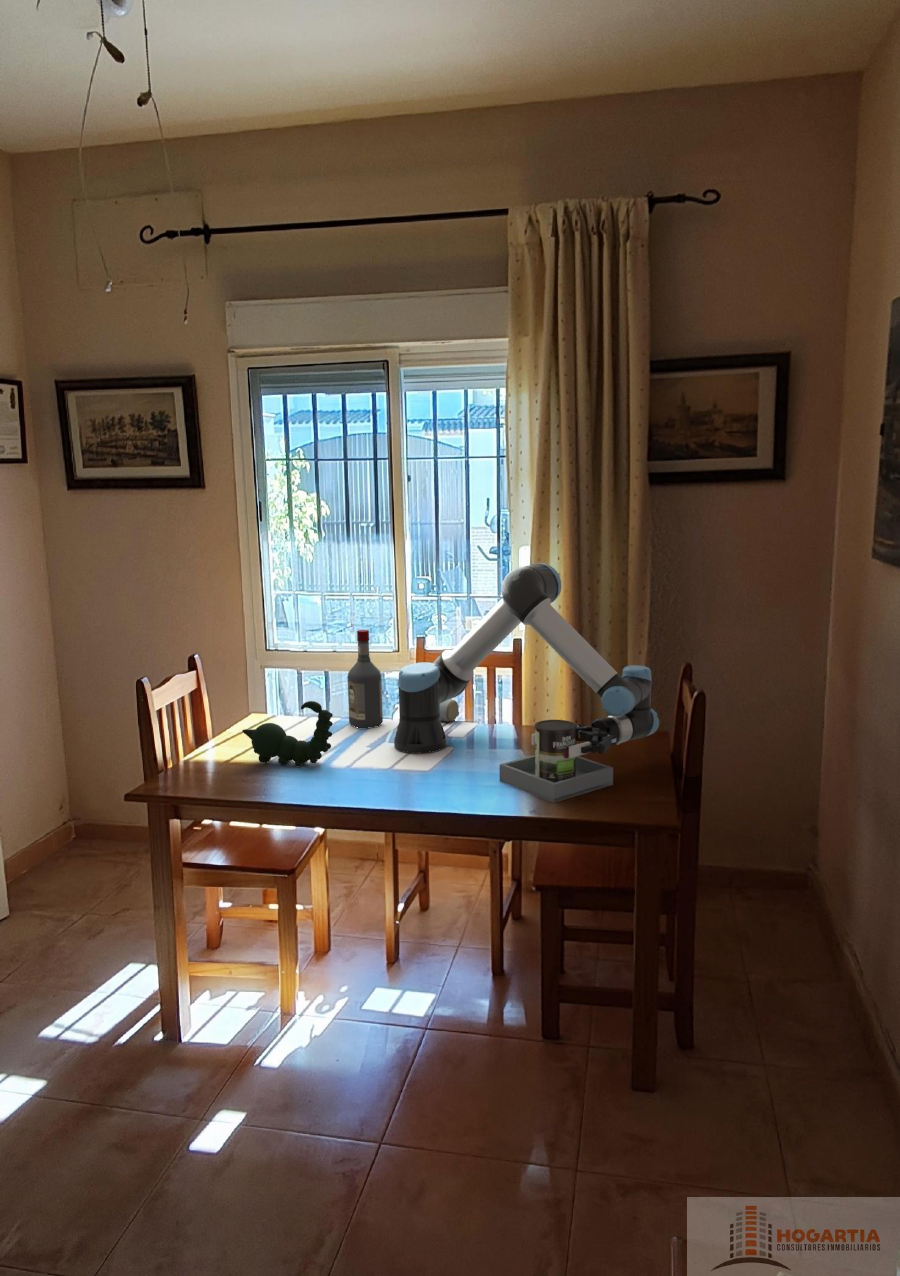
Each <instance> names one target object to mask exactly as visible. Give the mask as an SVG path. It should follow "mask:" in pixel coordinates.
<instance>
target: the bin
mask: <svg viewBox="0 0 900 1276" xmlns="http://www.w3.org/2000/svg"><path fill="white" fill-rule="evenodd" d="M535 774H536V772H535V754H534V755H530V756H525V757H522V758H520V759H519V758H518V759H515V760H511V761H508V762H502V763H500V764H499V782H501V783H502V784H505V785H508V786H510V787H513V788H515V789H518V790H520V791H523V792H526V793H528V794H531V795H533V796H536V797H537V798H538V797H539V798H541V799H543V800H545V801H547V802H551V803H553V804H556V803H558V802H562V801H565V800H567V799H572V798H574V797H578V796H581V795H585V794H588V793H591V792H594V791H597V790H601V789H604V788H608V787H610V786H613V785H614V767H612V766H611V765H607V764H604V763H601V762H597V761H595V760H591V759H589V758H585V757H583V756H581V755H580V756H576V777H572V778H569V779H566V780H562V781H559V782H555V783H553V782H551V781H548V780H545V779H543V778H540V777H537V776H535Z"/></svg>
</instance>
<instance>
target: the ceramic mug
mask: <svg viewBox="0 0 900 1276" xmlns="http://www.w3.org/2000/svg"><path fill="white" fill-rule="evenodd" d="M458 703H459V702H457V701H456V700H454V698H451V699H448V700H446V701H444V702H442V703H440V721H441V722H449V723H450V722H454V721H455V720H456V718H457V717H459V715H460V711H459V710H460V708H459V704H458Z"/></svg>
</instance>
